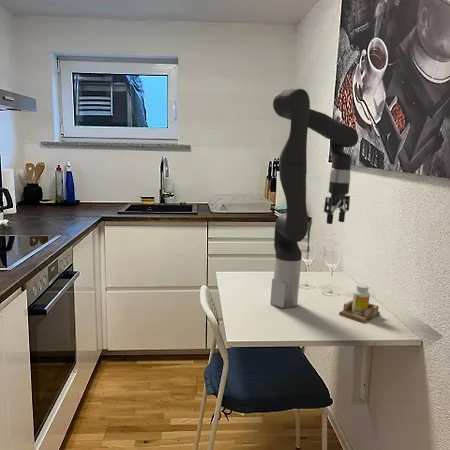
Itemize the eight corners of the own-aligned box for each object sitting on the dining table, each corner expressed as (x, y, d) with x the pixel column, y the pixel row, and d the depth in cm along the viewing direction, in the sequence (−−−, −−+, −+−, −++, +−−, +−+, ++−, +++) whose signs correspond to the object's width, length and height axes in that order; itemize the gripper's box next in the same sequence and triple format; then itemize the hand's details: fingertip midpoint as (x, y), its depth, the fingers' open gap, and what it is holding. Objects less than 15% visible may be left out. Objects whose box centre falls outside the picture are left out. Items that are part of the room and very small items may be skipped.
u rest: (362, 322, 158) (363, 312, 157) (339, 314, 164) (340, 305, 163) (379, 314, 166) (380, 305, 166) (356, 307, 172) (357, 298, 172)
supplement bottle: (348, 309, 166) (351, 283, 165) (361, 308, 168) (364, 283, 166) (357, 315, 161) (360, 288, 160) (370, 314, 163) (373, 287, 161)
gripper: (338, 182, 173) (333, 226, 176) (357, 181, 183) (353, 222, 186) (320, 180, 178) (316, 222, 181) (340, 179, 188) (336, 219, 191)
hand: (335, 222), depth 183 cm, fingers open, 8 cm apart
